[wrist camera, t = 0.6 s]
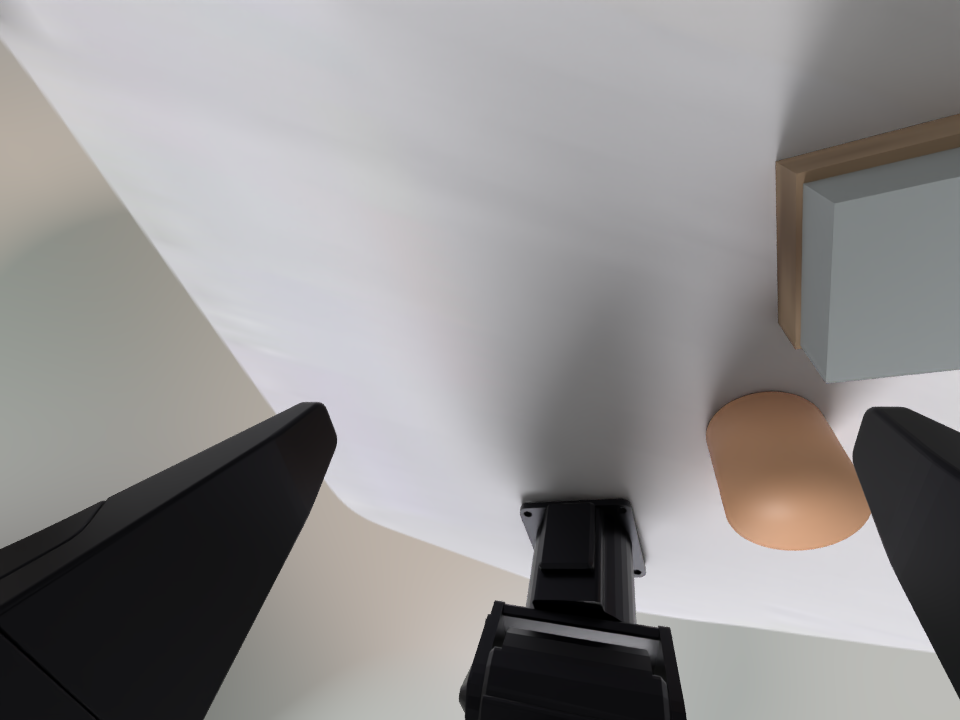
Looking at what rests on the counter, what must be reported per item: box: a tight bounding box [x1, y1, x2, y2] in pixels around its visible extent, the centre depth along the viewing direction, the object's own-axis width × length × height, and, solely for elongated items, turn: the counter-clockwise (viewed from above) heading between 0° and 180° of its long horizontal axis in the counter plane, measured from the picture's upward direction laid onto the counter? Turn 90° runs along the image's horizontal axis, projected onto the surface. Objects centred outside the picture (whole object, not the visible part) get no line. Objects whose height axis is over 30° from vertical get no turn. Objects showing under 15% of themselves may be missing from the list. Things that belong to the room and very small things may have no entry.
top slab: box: [800, 147, 960, 384], centre depth 14 cm, size 6×6×2 cm
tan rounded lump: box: [706, 392, 871, 551], centre depth 20 cm, size 5×5×4 cm
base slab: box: [776, 114, 960, 349], centre depth 16 cm, size 6×6×2 cm
